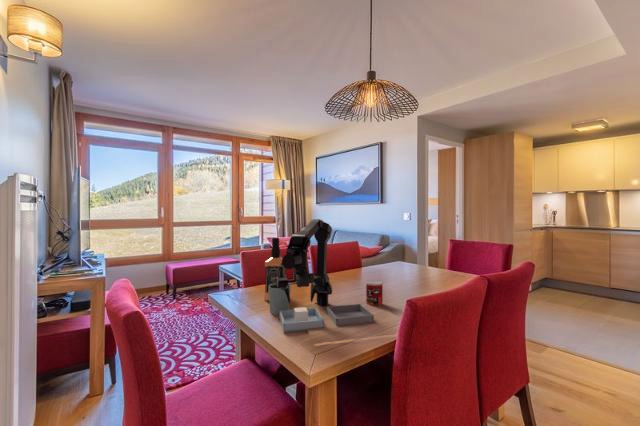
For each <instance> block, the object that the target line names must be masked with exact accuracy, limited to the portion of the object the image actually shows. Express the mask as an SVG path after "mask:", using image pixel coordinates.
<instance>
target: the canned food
mask: <svg viewBox="0 0 640 426" xmlns="http://www.w3.org/2000/svg"><path fill="white" fill-rule="evenodd" d="M365 283H366V285H365V289H366V290H365V297H366V299H365V302H366V304H367V305H368V306H374V307H375V306H383V282H382V281H381V280H380V281H379V280H367V281H366V282H365Z"/></svg>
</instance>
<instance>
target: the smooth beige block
mask: <svg viewBox="0 0 640 426" xmlns="http://www.w3.org/2000/svg"><path fill="white" fill-rule="evenodd" d="M306 308H307V307H306V306H303V307H294V308H293V309H294V321H295V322H301V321H308V310H307V309H306Z"/></svg>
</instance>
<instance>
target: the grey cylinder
mask: <svg viewBox="0 0 640 426" xmlns="http://www.w3.org/2000/svg"><path fill="white" fill-rule="evenodd" d="M291 286H292V284H290V285H288V288H289V296H290V297H291V290H292V289H291ZM268 287H269V301H268V303H269V313H270V314H271V315H275V316H278V315H279V316H280V311H281V310H290V304H289V302H288V299H287V296H286V293H285V291H284V290H281V288H278V286H277V283H275V284H271V285H269V286H268Z"/></svg>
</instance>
